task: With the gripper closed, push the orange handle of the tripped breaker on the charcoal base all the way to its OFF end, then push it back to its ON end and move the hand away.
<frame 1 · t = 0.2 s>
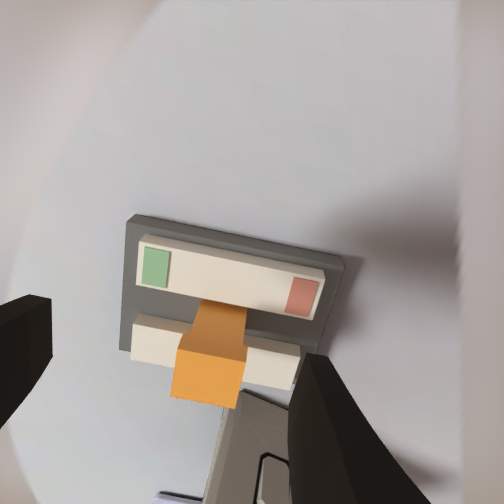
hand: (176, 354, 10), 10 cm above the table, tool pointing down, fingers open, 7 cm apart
electrical switch: (280, 434, 26), on the table
breaker base: (226, 299, 21), on the table
breaker handle: (216, 341, 18), point 4 cm above the table, slide at 0.0 cm
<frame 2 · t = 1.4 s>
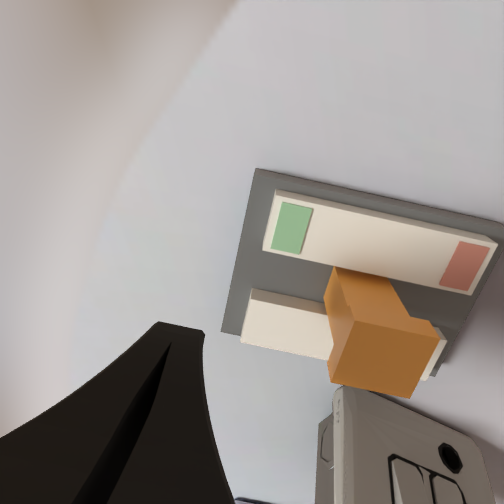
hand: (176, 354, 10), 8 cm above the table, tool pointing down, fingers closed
electrical switch: (385, 434, 22), on the table
breaker base: (349, 274, 18), on the table
breaker handle: (366, 318, 14), point 4 cm above the table, slide at 0.0 cm
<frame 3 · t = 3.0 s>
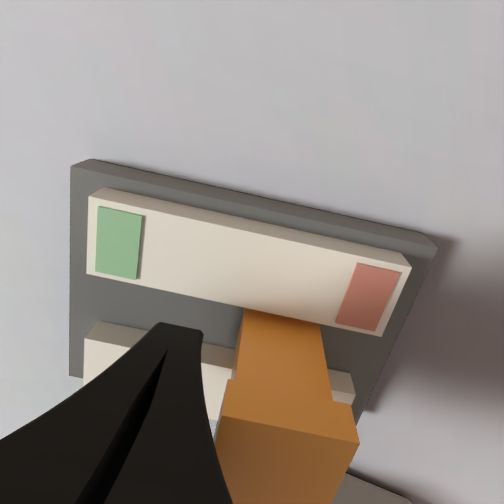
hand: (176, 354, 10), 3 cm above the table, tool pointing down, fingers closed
electrical switch: (307, 492, 18), on the table
breaker base: (235, 300, 14), on the table
breaker handle: (275, 385, 10), point 4 cm above the table, slide at -1.5 cm, touching gripper
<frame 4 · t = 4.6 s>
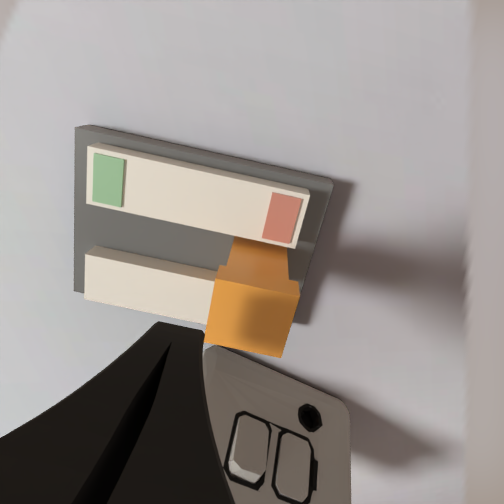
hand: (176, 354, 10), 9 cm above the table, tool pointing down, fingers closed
electrical switch: (263, 398, 23), on the table
breaker base: (197, 233, 18), on the table
breaker handle: (253, 284, 15), point 4 cm above the table, slide at -3.1 cm
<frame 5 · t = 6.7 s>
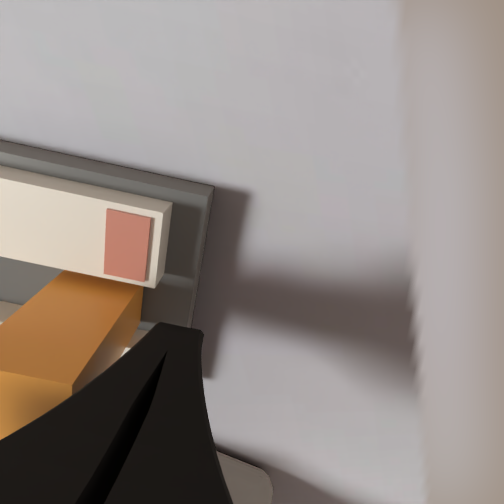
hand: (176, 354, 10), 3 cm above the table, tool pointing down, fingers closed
electrical switch: (168, 464, 18), on the table
breaker base: (47, 260, 13), on the table
breaker handle: (67, 342, 10), point 4 cm above the table, slide at -2.7 cm, touching gripper
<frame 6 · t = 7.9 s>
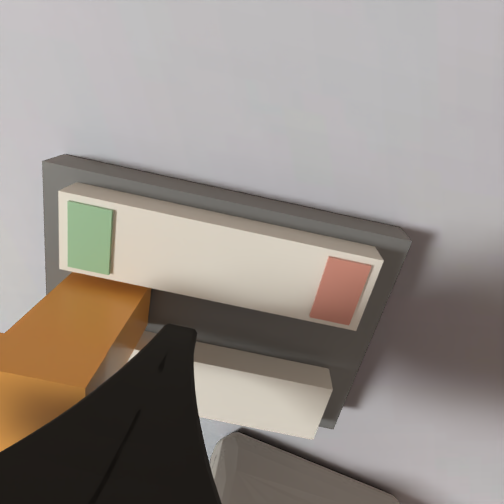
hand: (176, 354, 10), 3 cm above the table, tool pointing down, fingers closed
electrical switch: (293, 489, 18), on the table
breaker base: (214, 296, 13), on the table
breaker handle: (76, 344, 10), point 4 cm above the table, slide at 3.2 cm, touching gripper
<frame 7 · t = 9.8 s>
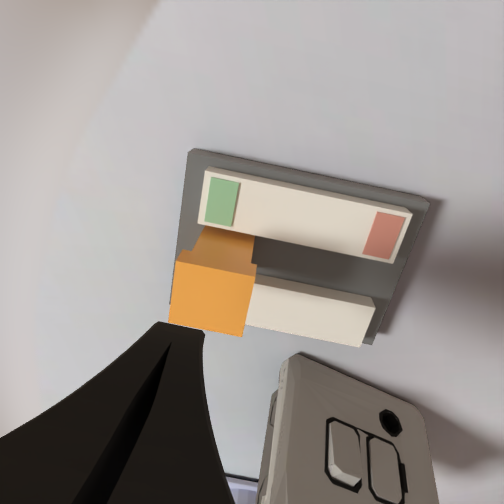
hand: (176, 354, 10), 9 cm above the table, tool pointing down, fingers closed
electrical switch: (335, 404, 24), on the table
breaker base: (288, 248, 19), on the table
breaker handle: (219, 269, 16), point 4 cm above the table, slide at 3.1 cm
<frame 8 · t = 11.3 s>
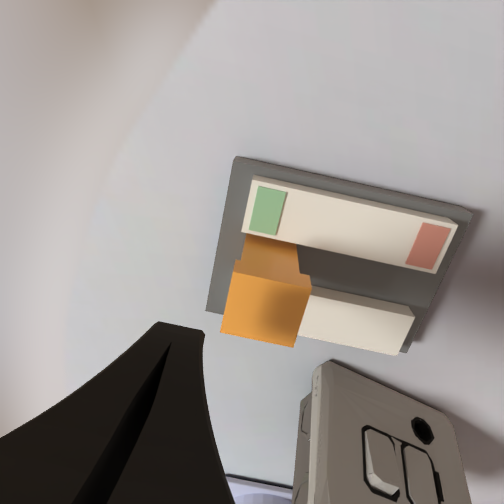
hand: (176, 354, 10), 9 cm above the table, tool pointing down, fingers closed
electrical switch: (364, 411, 24), on the table
breaker base: (325, 256, 19), on the table
breaker handle: (266, 278, 16), point 4 cm above the table, slide at 3.1 cm
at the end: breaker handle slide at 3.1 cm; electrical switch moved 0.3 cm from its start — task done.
